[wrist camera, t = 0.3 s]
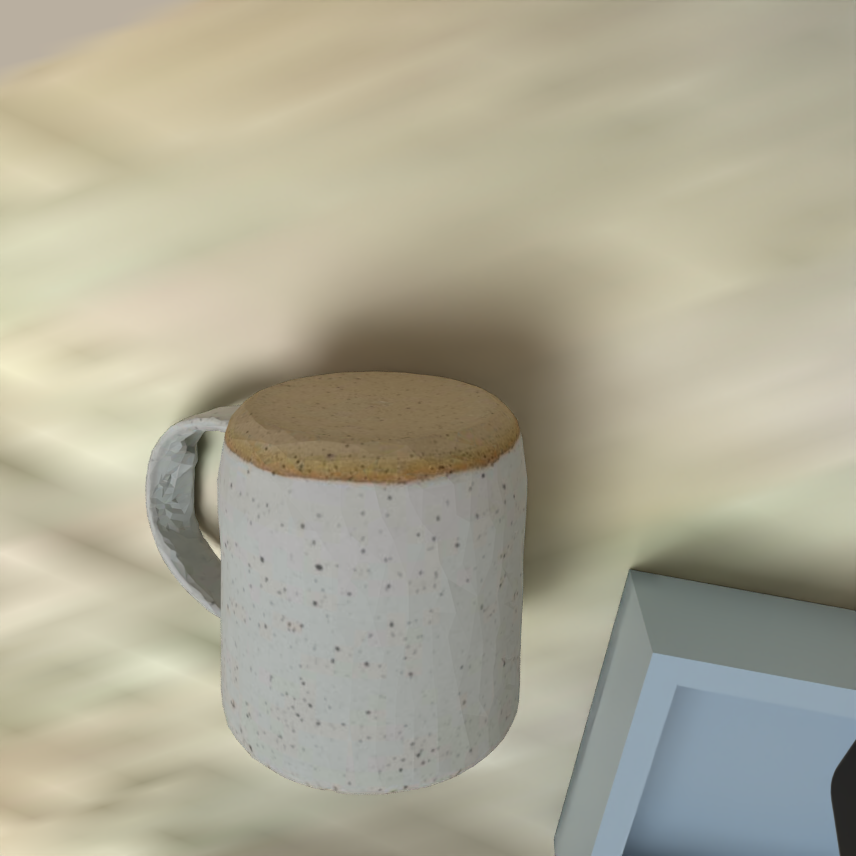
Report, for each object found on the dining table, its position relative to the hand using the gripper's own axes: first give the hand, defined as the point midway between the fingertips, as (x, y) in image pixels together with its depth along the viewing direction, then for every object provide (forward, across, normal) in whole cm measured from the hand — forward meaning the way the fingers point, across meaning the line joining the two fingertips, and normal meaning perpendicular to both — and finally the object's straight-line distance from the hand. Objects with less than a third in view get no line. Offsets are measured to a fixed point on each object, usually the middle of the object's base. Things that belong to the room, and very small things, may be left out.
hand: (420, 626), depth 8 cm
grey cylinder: (+14, +2, +8) cm, 16 cm away
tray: (+13, -12, +12) cm, 21 cm away
